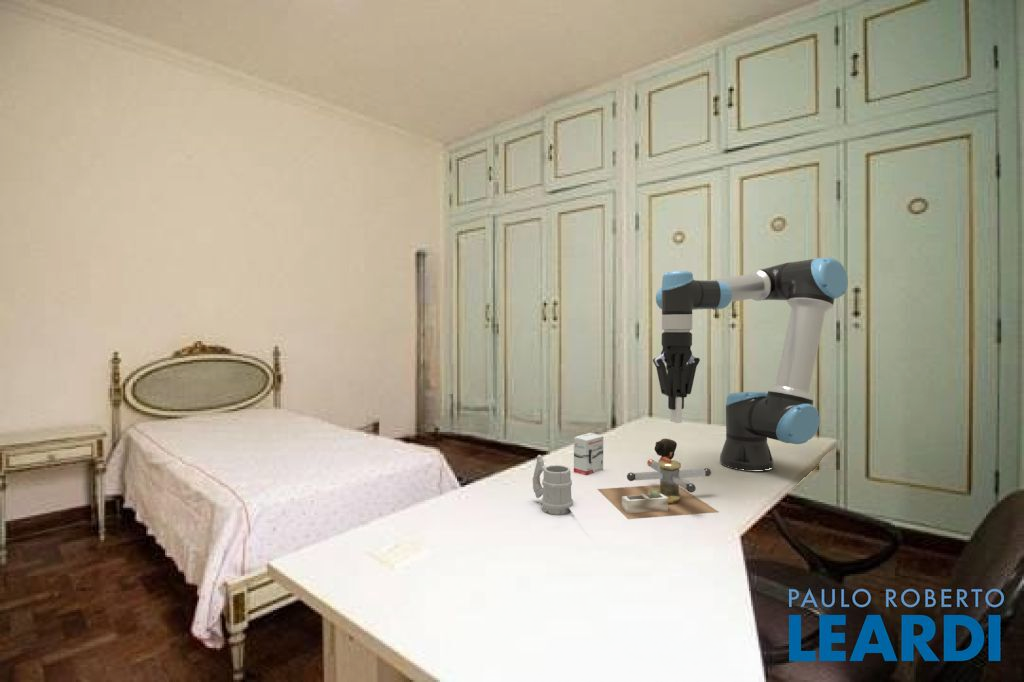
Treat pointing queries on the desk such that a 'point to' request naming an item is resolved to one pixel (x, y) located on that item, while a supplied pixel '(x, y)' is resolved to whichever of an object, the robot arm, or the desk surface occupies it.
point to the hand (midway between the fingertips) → (675, 421)
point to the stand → (653, 502)
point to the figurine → (665, 448)
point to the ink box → (588, 453)
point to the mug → (553, 487)
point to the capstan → (669, 478)
